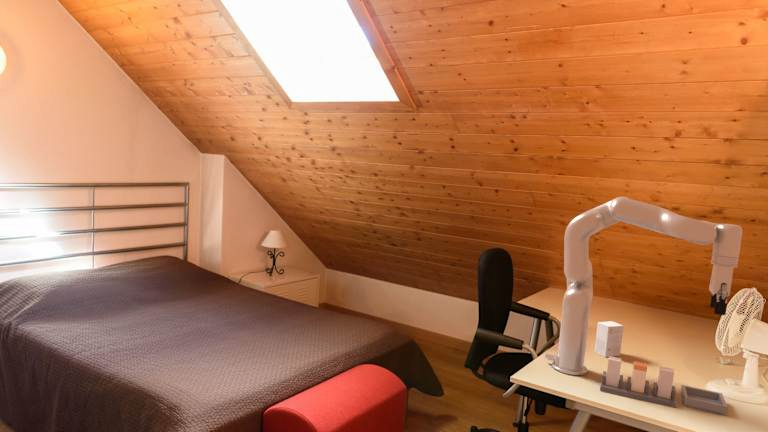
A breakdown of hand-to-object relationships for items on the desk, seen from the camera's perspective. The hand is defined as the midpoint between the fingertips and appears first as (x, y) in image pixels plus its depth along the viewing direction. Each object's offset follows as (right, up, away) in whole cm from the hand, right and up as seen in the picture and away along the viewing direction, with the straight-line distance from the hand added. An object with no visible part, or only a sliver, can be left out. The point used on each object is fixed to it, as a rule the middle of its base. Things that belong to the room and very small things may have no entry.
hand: (717, 311), depth 182 cm
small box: (-20, -25, +42) cm, 53 cm away
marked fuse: (-26, -27, +3) cm, 38 cm away
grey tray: (-6, -31, -1) cm, 31 cm away
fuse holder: (-26, -29, +3) cm, 39 cm away
